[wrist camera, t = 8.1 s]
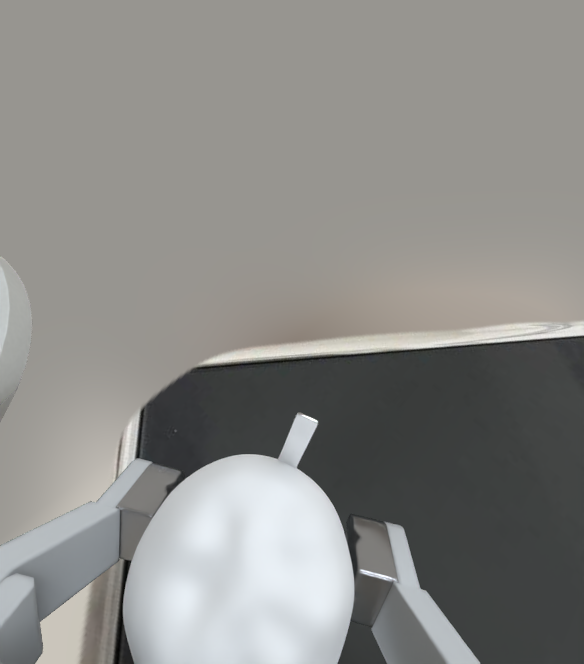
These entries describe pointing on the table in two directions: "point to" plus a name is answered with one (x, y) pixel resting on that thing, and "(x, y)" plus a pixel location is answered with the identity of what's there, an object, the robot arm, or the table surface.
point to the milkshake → (242, 567)
